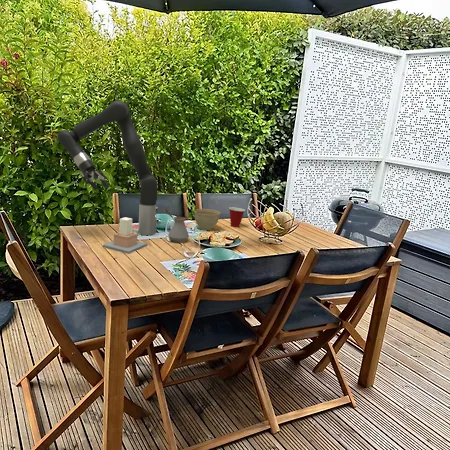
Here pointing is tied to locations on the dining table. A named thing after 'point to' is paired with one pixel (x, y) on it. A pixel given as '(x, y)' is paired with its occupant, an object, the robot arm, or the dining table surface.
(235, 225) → the plastic cup
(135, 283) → the dining table surface
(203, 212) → the planter bowl
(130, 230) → the tall brick
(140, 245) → the tower base
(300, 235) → the dining table surface
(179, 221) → the coffee pot
